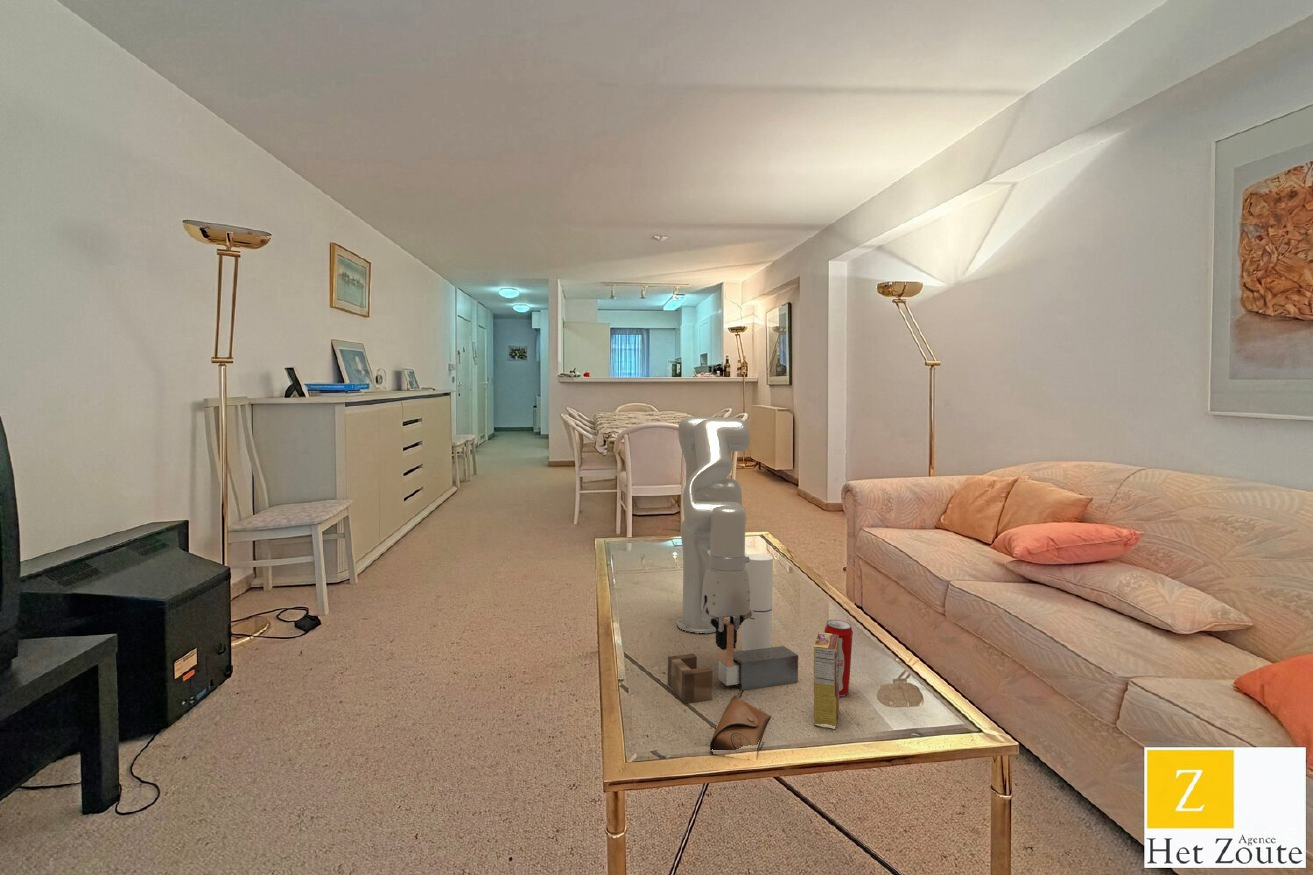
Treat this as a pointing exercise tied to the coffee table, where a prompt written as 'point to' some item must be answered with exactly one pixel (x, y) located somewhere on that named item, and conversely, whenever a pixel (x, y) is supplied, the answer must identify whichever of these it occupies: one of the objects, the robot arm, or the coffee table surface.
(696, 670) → the socket
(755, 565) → the cylindrical container
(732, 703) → the sunglasses case
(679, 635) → the coffee table surface
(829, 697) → the candy box
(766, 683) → the grey metal block
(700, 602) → the robot arm
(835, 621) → the beverage can
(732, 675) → the tan wooden slab
